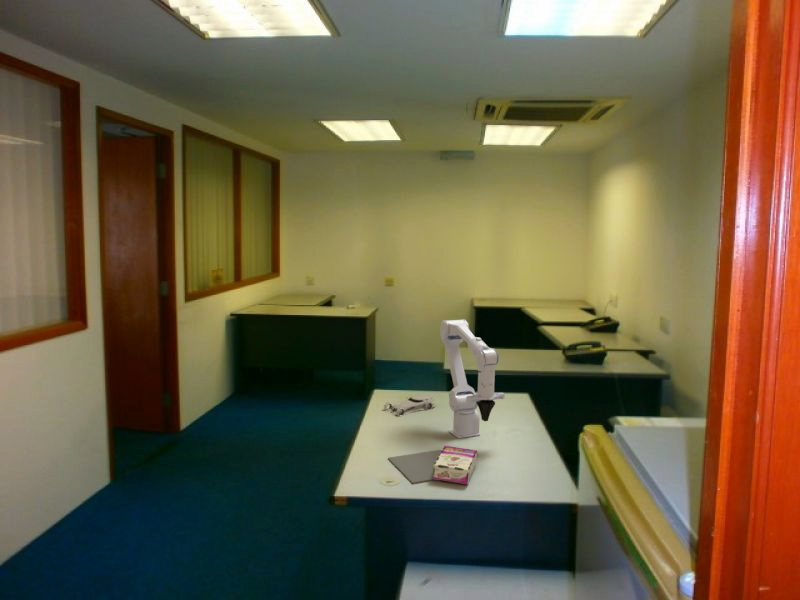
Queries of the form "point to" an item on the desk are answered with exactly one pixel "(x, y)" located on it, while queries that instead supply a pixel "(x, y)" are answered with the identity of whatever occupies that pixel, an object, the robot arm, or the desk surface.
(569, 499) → the desk surface
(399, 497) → the desk surface
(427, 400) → the car model
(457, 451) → the candy bar box
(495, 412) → the desk surface
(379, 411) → the desk surface
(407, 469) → the mat
